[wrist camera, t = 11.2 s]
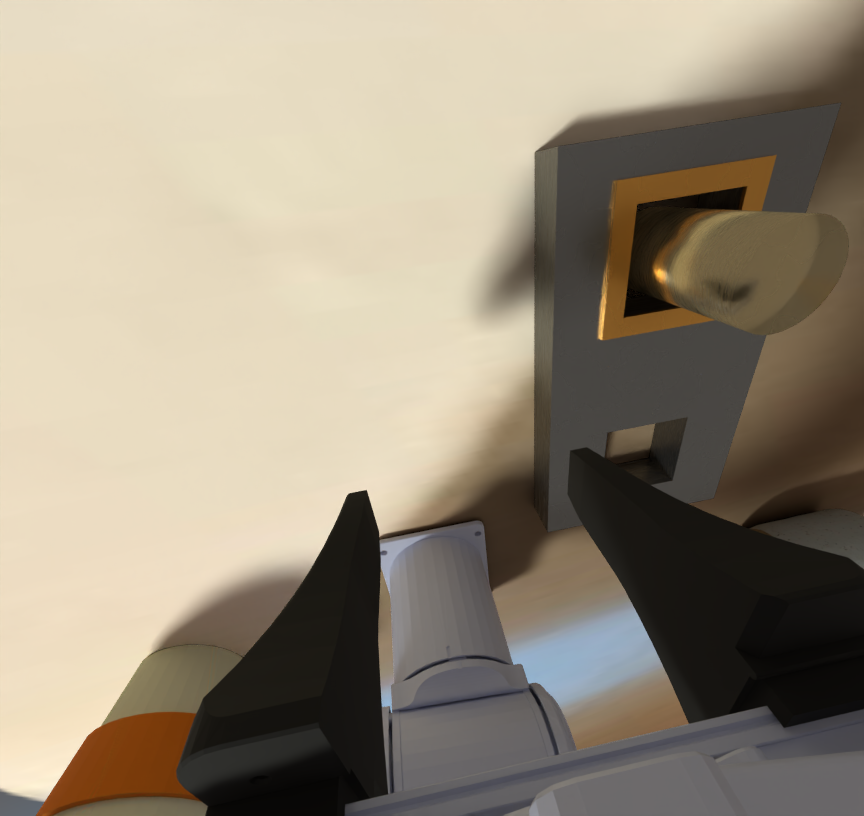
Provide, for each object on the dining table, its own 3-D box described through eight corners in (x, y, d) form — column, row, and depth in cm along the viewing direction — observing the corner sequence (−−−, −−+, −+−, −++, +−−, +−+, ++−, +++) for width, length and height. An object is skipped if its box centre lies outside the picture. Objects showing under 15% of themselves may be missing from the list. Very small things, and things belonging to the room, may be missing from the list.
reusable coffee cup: (149, 721, 35) (19, 1027, 22) (82, 645, 29) (-153, 1009, 16) (288, 697, 36) (241, 975, 24) (252, 620, 30) (161, 939, 17)
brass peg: (674, 281, 21) (822, 324, 14) (605, 294, 21) (720, 344, 14) (689, 200, 19) (869, 204, 12) (613, 213, 19) (750, 224, 12)
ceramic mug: (735, 511, 32) (830, 596, 25) (829, 488, 32) (947, 567, 25) (709, 586, 37) (782, 672, 31) (789, 566, 37) (878, 648, 31)
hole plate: (688, 475, 29) (715, 500, 26) (534, 506, 28) (548, 534, 26) (784, 113, 18) (846, 101, 15) (534, 152, 17) (560, 145, 15)
